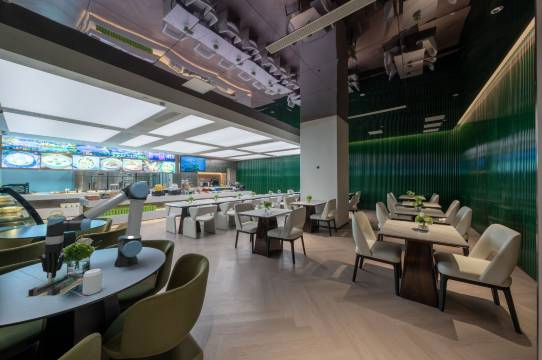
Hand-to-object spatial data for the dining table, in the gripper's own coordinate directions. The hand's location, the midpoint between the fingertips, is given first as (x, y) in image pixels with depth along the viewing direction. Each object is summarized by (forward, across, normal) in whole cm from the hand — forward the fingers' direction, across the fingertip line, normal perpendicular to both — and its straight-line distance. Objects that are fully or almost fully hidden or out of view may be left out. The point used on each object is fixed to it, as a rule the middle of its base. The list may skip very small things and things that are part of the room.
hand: (50, 283), depth 120 cm
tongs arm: (+2, -2, +1) cm, 3 cm away
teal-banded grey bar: (+2, -8, +1) cm, 8 cm away
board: (+3, -5, 0) cm, 6 cm away
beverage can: (+3, -27, +8) cm, 28 cm away
